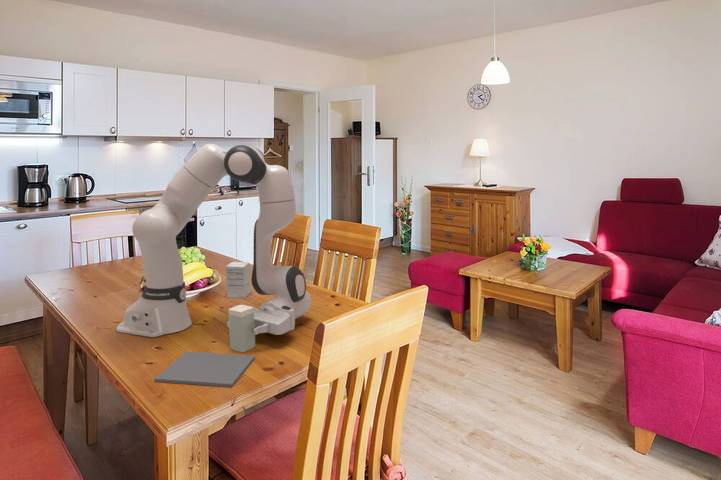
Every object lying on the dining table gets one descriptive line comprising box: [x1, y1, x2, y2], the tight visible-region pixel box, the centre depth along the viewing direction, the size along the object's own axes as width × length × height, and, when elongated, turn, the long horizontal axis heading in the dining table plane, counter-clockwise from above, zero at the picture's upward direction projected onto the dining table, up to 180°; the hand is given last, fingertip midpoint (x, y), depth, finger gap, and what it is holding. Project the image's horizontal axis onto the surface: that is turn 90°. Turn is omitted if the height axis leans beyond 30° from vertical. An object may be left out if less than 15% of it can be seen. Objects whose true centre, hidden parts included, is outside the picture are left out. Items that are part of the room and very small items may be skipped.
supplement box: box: [225, 261, 252, 299], centre depth 184 cm, size 7×7×13 cm
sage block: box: [228, 304, 256, 353], centre depth 135 cm, size 5×5×12 cm
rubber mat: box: [154, 351, 256, 388], centre depth 123 cm, size 20×16×1 cm
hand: (240, 328), depth 135 cm, fingers open, 8 cm apart
